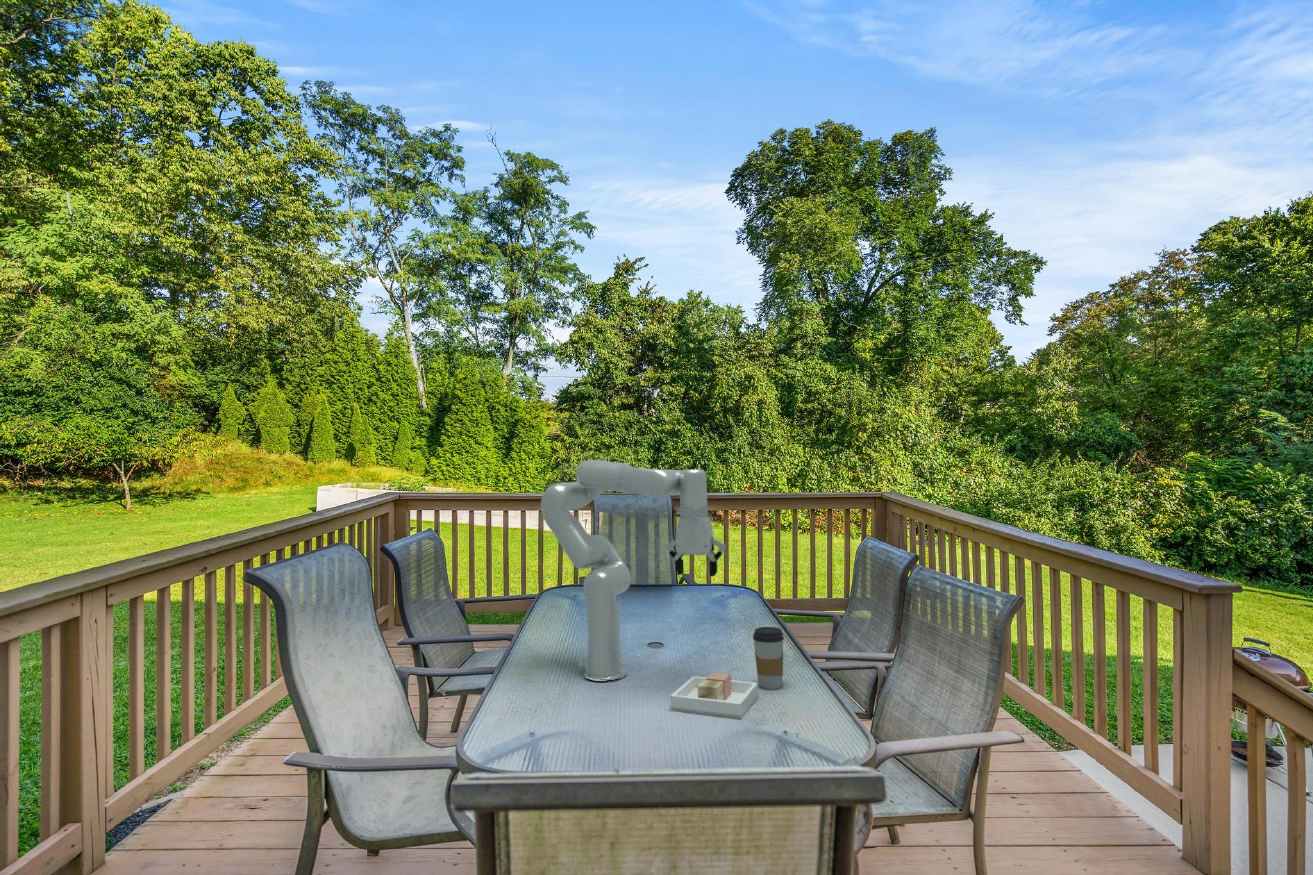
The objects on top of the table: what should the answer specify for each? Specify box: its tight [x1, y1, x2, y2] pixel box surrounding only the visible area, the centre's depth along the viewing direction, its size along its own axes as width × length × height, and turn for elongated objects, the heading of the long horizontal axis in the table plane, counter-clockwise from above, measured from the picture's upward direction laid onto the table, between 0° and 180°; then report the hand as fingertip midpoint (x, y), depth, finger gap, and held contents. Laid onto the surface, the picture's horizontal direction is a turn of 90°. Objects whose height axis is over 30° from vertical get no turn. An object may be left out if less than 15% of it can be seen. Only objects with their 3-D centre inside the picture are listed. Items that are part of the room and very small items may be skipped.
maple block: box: [698, 680, 724, 701], centre depth 156 cm, size 5×5×5 cm
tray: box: [669, 675, 759, 720], centre depth 159 cm, size 18×16×4 cm
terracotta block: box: [706, 672, 732, 700], centre depth 162 cm, size 5×5×5 cm
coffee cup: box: [752, 626, 784, 691], centre depth 171 cm, size 8×8×15 cm
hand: (696, 574), depth 174 cm, fingers open, 9 cm apart
